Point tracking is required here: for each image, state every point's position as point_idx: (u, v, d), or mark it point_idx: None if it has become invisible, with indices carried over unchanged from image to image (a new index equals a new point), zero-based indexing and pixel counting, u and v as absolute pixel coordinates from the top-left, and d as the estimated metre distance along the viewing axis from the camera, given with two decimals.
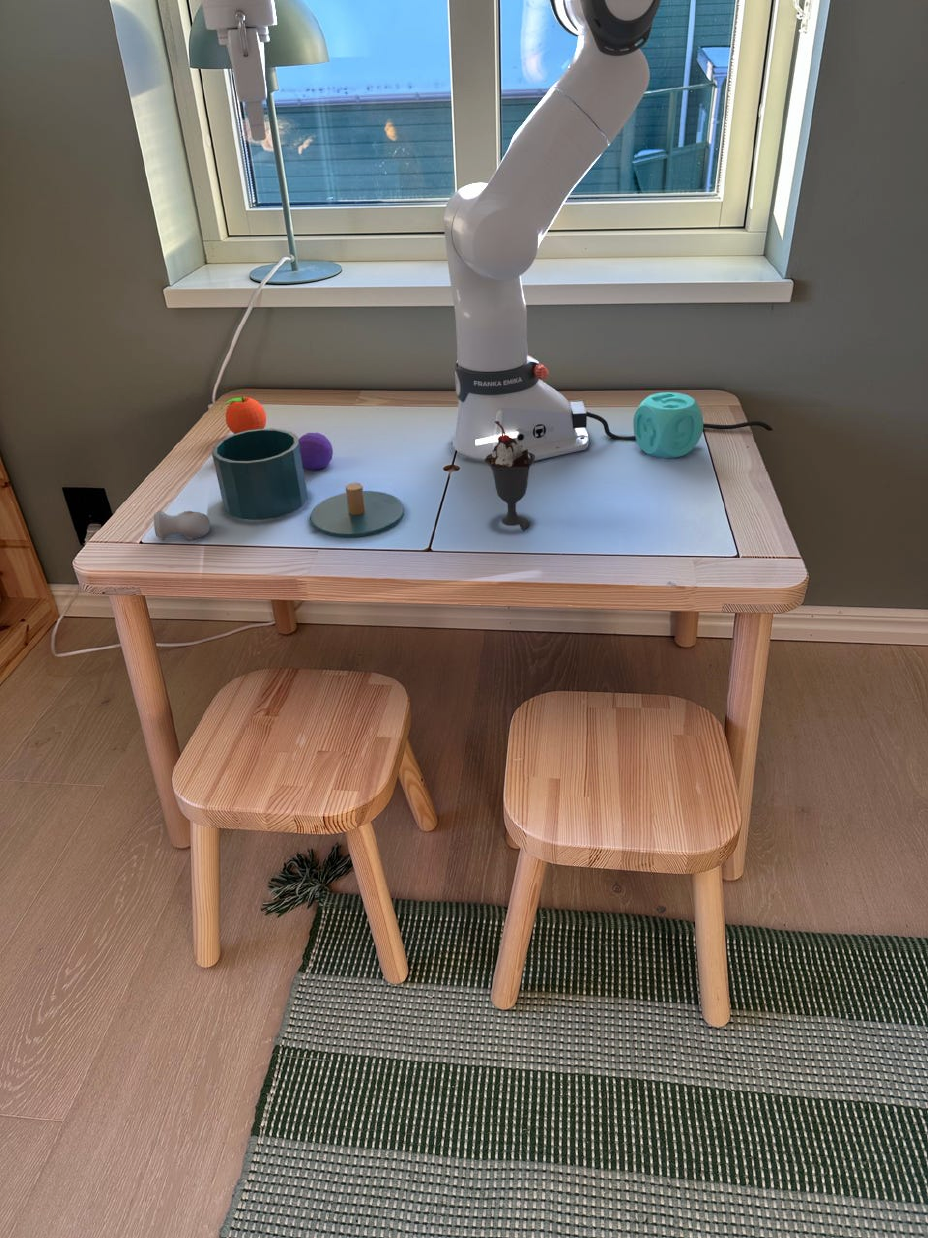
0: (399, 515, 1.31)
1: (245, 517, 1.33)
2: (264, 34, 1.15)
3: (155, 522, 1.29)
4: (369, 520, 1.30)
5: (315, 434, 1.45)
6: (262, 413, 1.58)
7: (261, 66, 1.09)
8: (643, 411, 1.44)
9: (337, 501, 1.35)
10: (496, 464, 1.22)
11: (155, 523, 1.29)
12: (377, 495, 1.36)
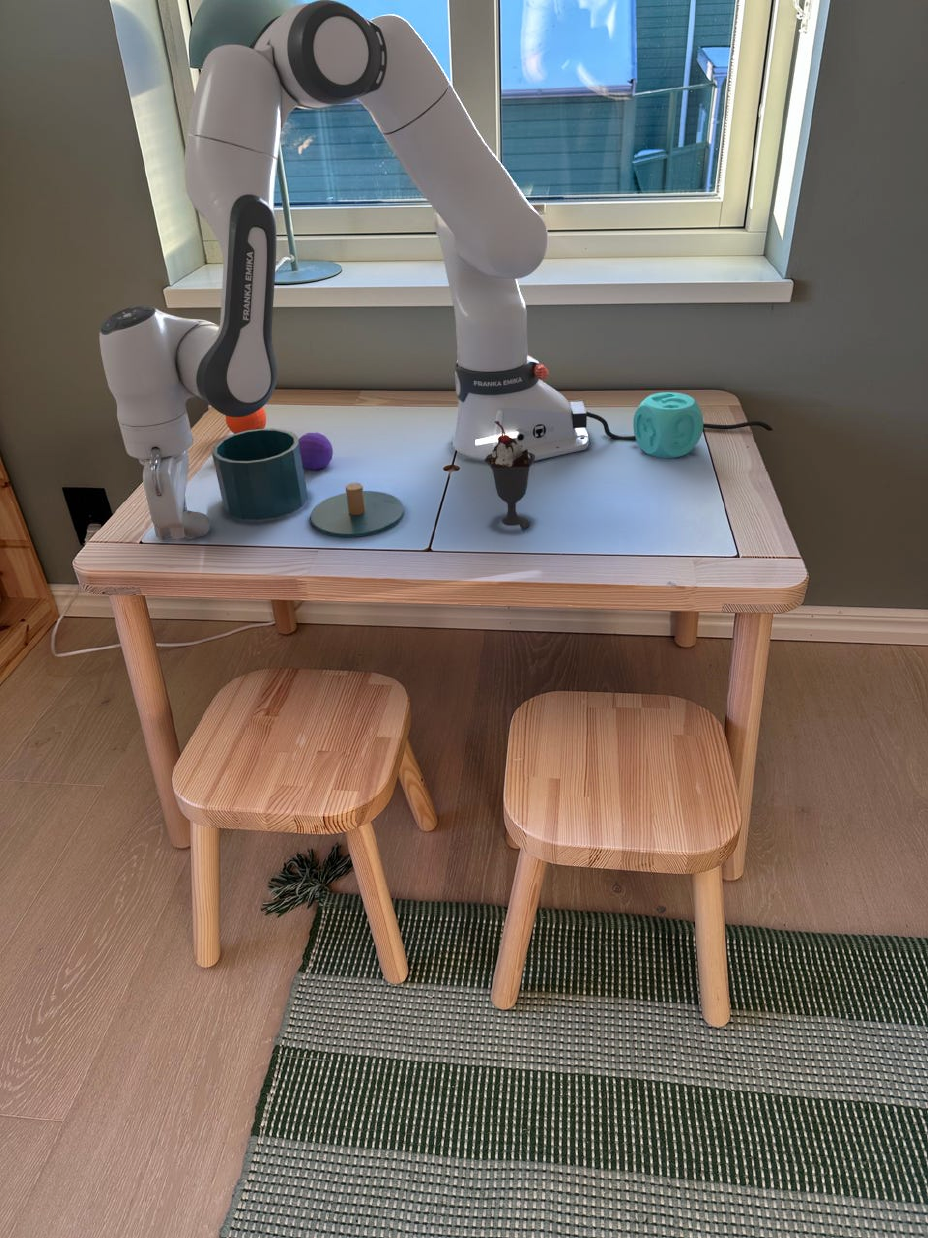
0: (399, 515, 1.31)
1: (245, 517, 1.33)
2: (180, 454, 1.23)
3: None
4: (369, 520, 1.30)
5: (315, 434, 1.45)
6: (262, 413, 1.58)
7: (174, 502, 1.18)
8: (643, 411, 1.44)
9: (337, 501, 1.35)
10: (496, 464, 1.22)
11: None
12: (377, 495, 1.36)
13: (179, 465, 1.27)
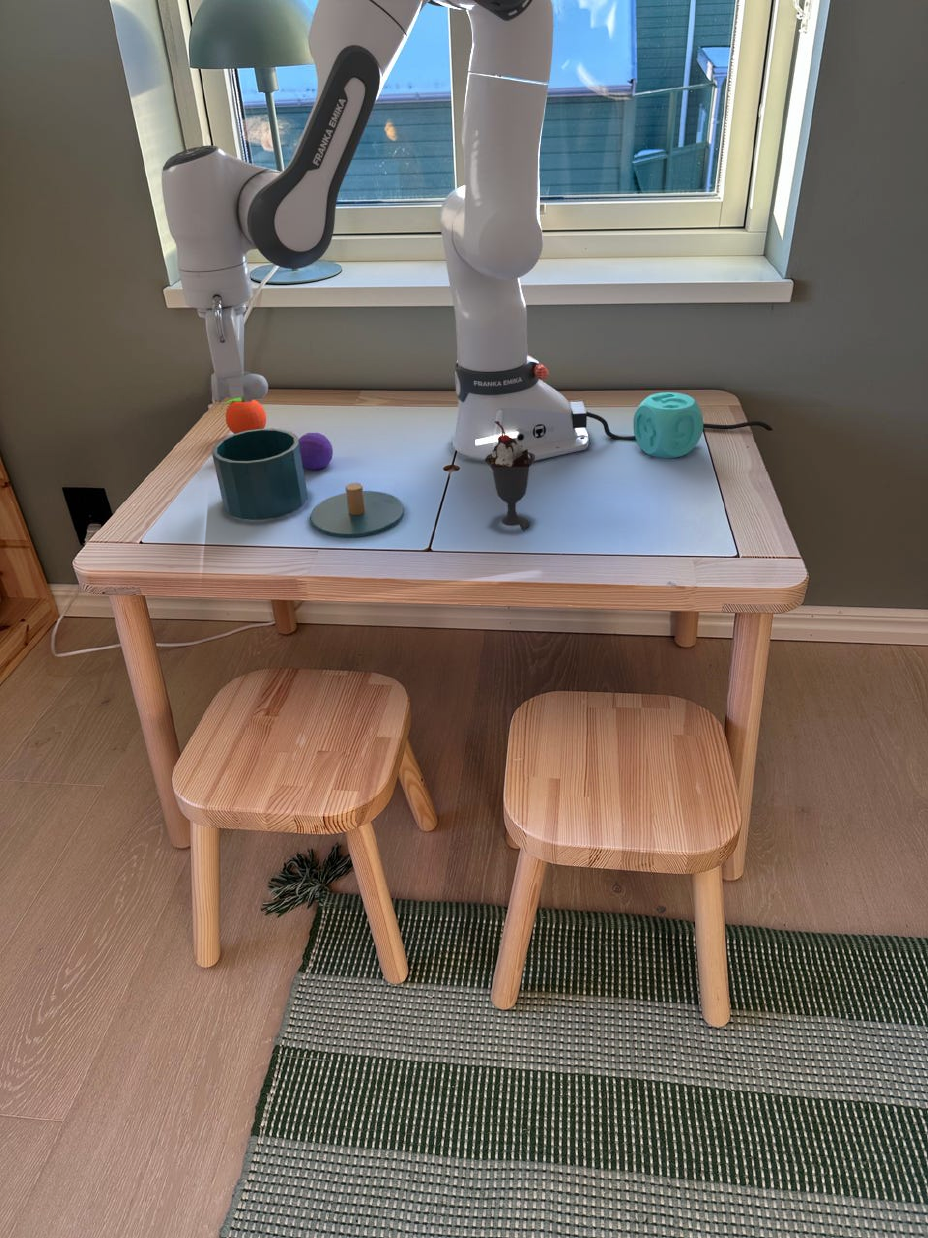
0: (399, 515, 1.31)
1: (245, 517, 1.33)
2: (241, 307, 1.20)
3: (212, 382, 1.26)
4: (369, 520, 1.30)
5: (315, 434, 1.45)
6: (262, 413, 1.58)
7: (237, 349, 1.15)
8: (643, 411, 1.44)
9: (337, 501, 1.35)
10: (496, 464, 1.22)
11: (212, 383, 1.26)
12: (377, 495, 1.36)
13: (238, 322, 1.24)
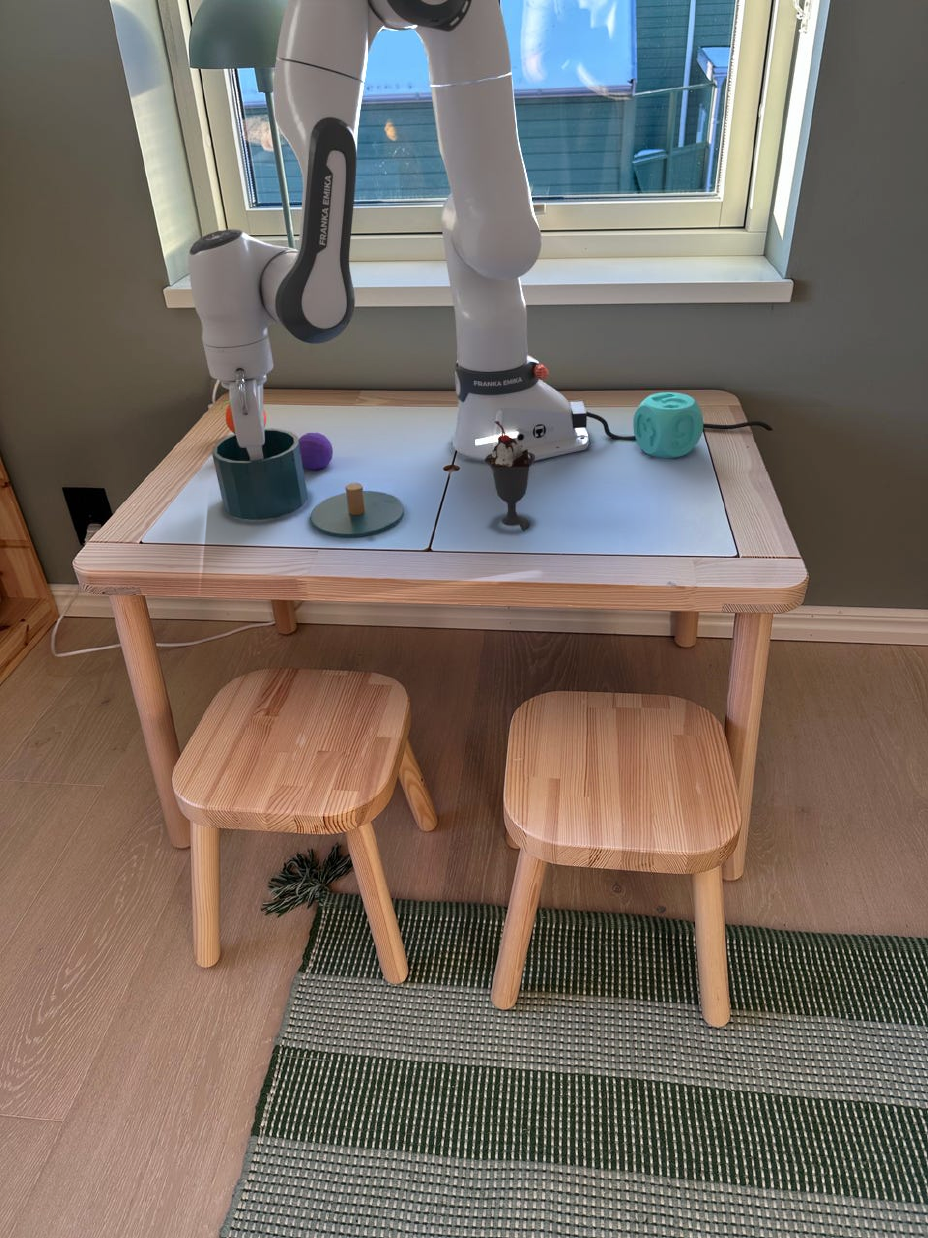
0: (399, 515, 1.31)
1: (245, 517, 1.33)
2: (262, 378, 1.27)
3: None
4: (369, 520, 1.30)
5: (315, 434, 1.45)
6: None
7: (259, 421, 1.22)
8: (643, 411, 1.44)
9: (337, 501, 1.35)
10: (496, 464, 1.22)
11: None
12: (377, 495, 1.36)
13: (258, 390, 1.30)
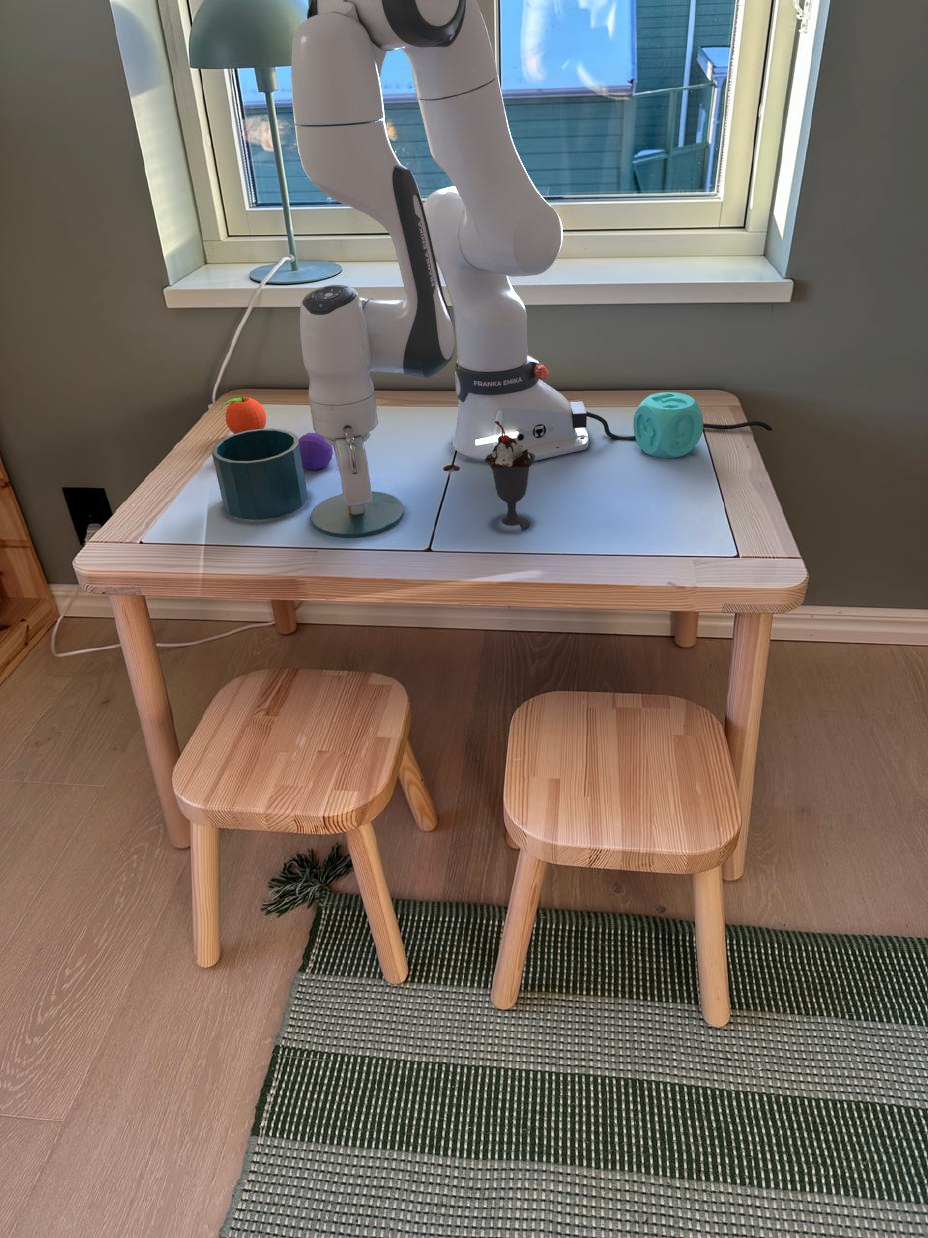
0: (399, 515, 1.31)
1: (245, 517, 1.33)
2: (367, 434, 1.24)
3: None
4: (369, 520, 1.30)
5: (315, 434, 1.45)
6: (262, 413, 1.58)
7: (368, 480, 1.19)
8: (643, 411, 1.44)
9: (337, 501, 1.35)
10: (496, 464, 1.22)
11: None
12: (378, 495, 1.36)
13: None
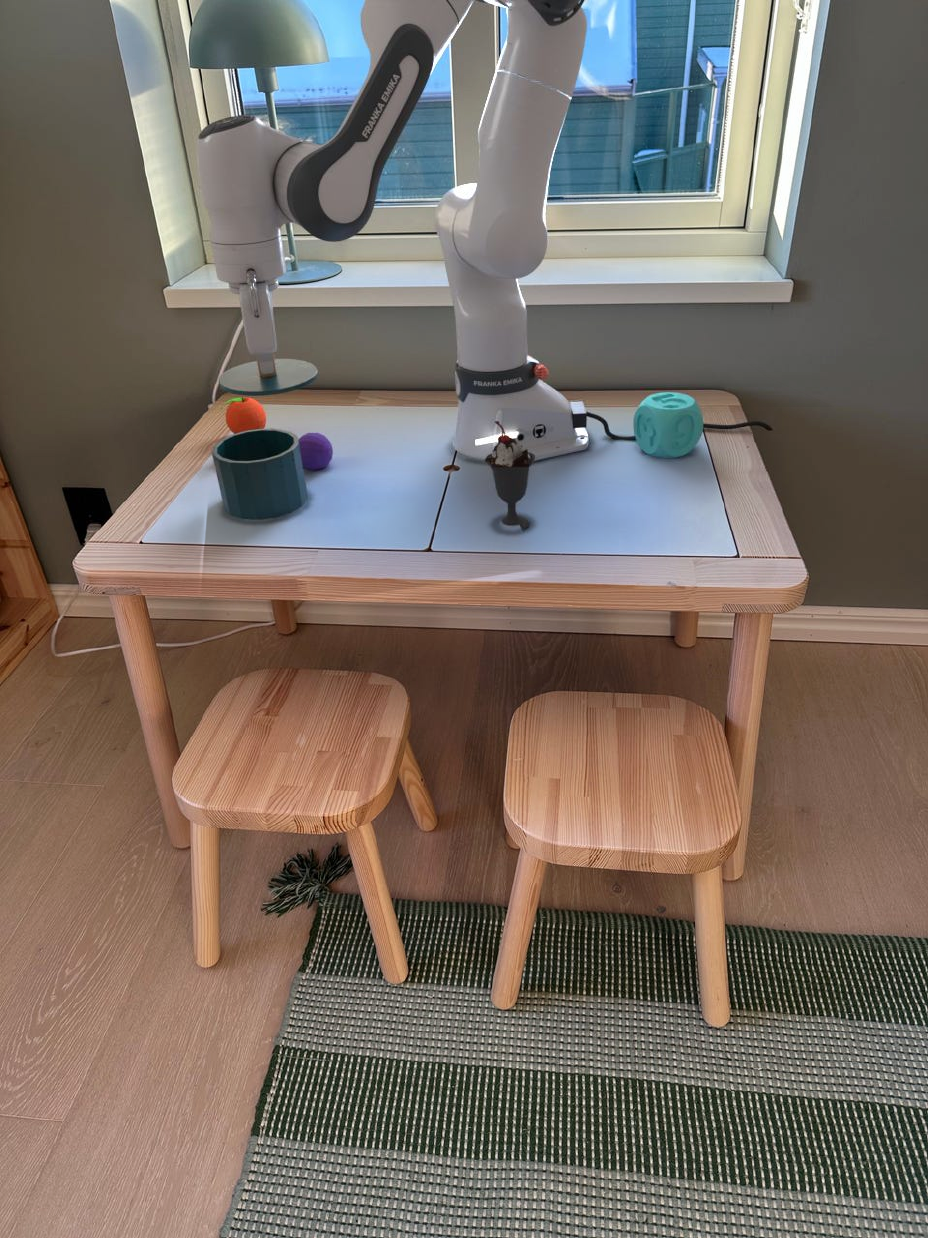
0: (312, 376, 1.24)
1: (245, 517, 1.33)
2: (274, 283, 1.18)
3: None
4: (279, 381, 1.23)
5: (315, 434, 1.45)
6: (262, 413, 1.58)
7: (272, 325, 1.12)
8: (643, 411, 1.44)
9: (249, 367, 1.28)
10: (496, 464, 1.22)
11: None
12: (292, 362, 1.29)
13: None
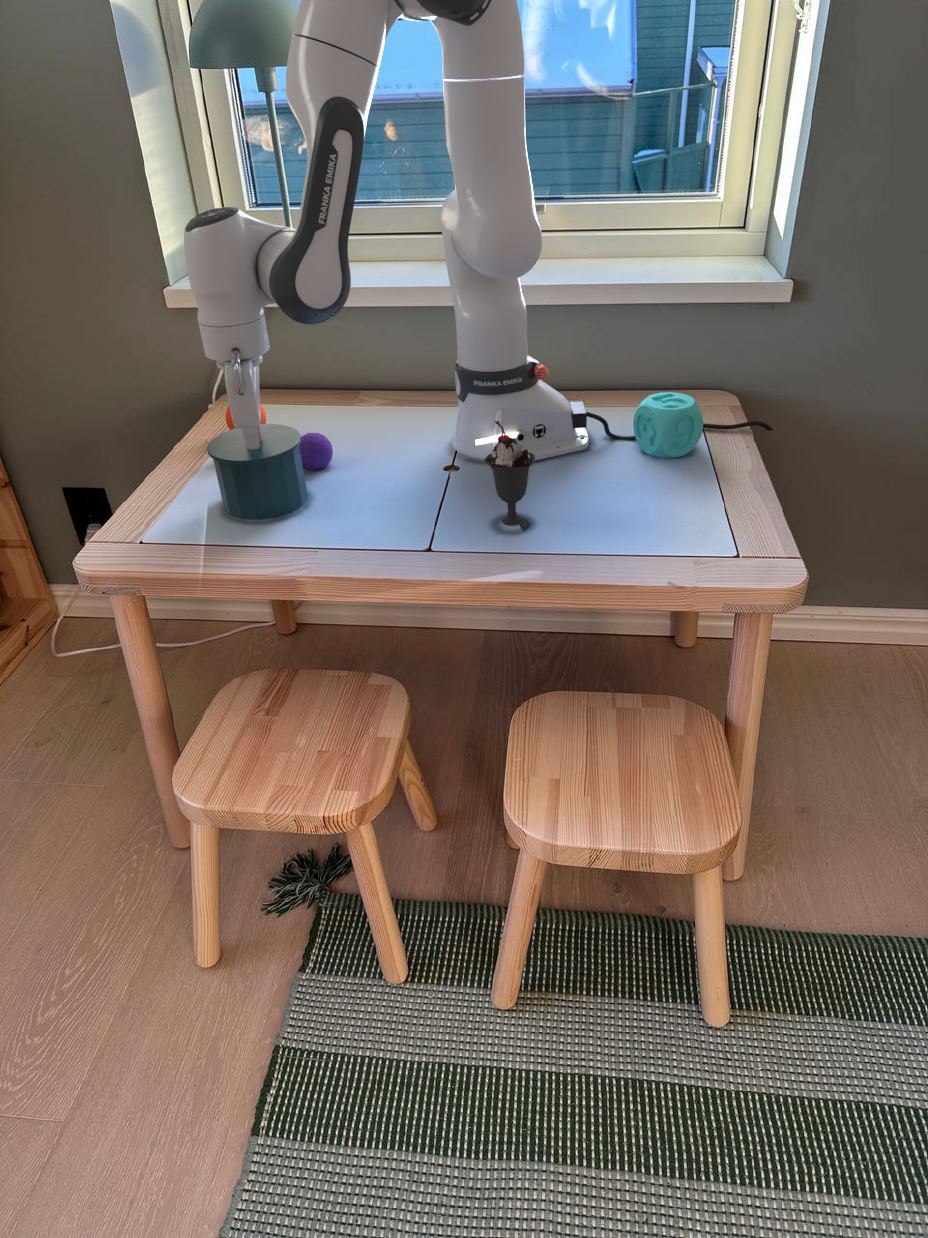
0: (294, 444, 1.31)
1: (245, 517, 1.33)
2: (258, 359, 1.25)
3: None
4: (264, 449, 1.30)
5: (315, 434, 1.45)
6: (262, 413, 1.58)
7: (255, 401, 1.20)
8: (643, 411, 1.44)
9: (236, 433, 1.36)
10: (496, 464, 1.22)
11: None
12: (277, 427, 1.37)
13: (254, 372, 1.29)
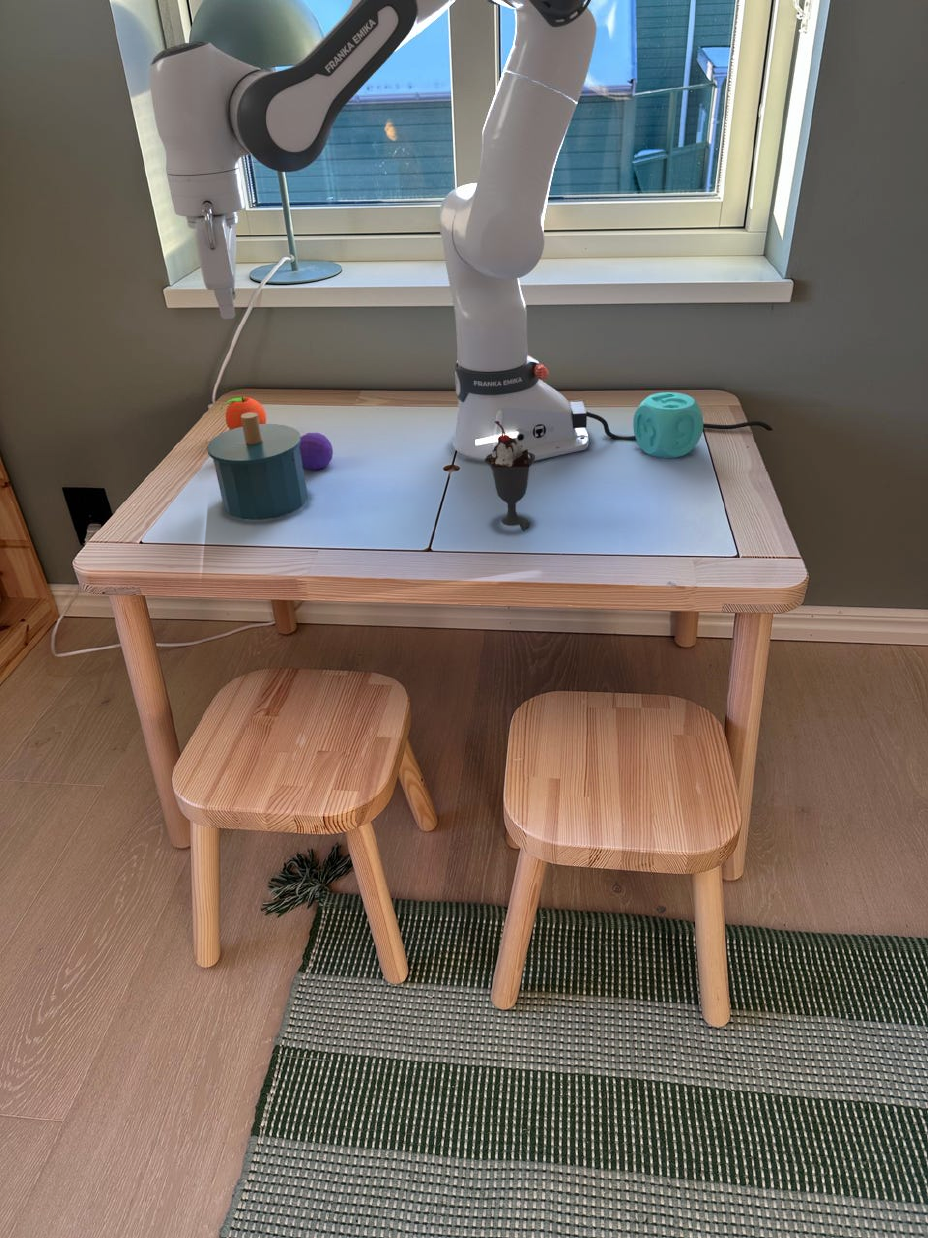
0: (294, 444, 1.31)
1: (245, 517, 1.33)
2: (232, 217, 1.15)
3: None
4: (264, 449, 1.30)
5: (315, 434, 1.45)
6: (262, 413, 1.58)
7: (228, 258, 1.10)
8: (643, 411, 1.44)
9: (236, 433, 1.36)
10: (496, 464, 1.22)
11: None
12: (277, 427, 1.37)
13: (229, 236, 1.19)
